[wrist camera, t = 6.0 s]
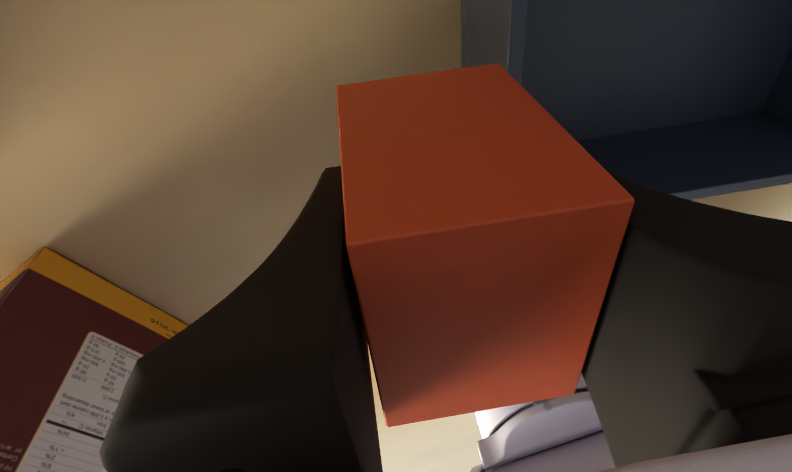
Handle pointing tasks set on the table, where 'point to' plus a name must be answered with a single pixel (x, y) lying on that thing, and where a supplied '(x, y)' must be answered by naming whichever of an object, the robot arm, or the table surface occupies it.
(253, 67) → the table surface
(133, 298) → the supplement box
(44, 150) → the table surface
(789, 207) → the table surface
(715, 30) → the storage box
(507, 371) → the small box
